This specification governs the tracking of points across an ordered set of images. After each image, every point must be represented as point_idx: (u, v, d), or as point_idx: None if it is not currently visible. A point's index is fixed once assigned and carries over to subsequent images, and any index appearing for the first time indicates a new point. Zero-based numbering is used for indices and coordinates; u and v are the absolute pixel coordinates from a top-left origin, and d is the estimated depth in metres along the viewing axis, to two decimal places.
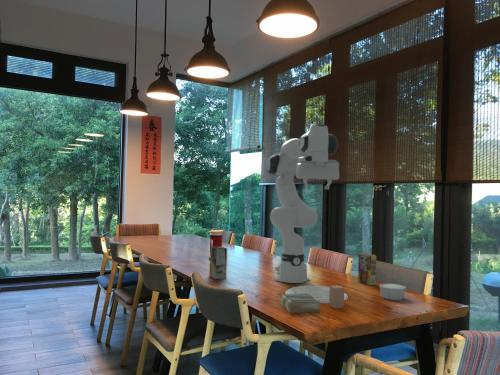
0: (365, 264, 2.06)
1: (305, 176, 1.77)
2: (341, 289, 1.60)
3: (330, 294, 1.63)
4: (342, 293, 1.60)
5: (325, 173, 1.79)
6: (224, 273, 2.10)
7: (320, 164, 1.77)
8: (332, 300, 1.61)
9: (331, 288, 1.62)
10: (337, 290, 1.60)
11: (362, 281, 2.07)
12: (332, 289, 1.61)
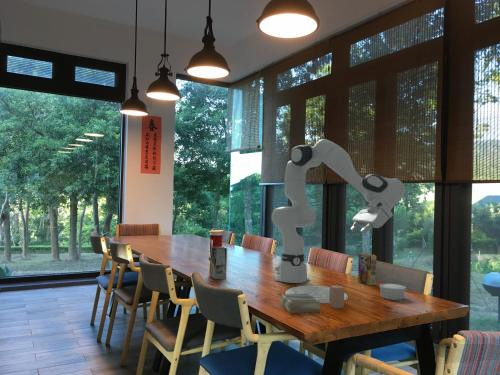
0: (365, 264, 2.06)
1: None
2: (341, 289, 1.60)
3: (330, 294, 1.63)
4: (342, 293, 1.60)
5: None
6: (224, 273, 2.10)
7: None
8: (332, 300, 1.61)
9: (331, 288, 1.62)
10: (337, 290, 1.60)
11: (362, 281, 2.07)
12: (332, 289, 1.61)
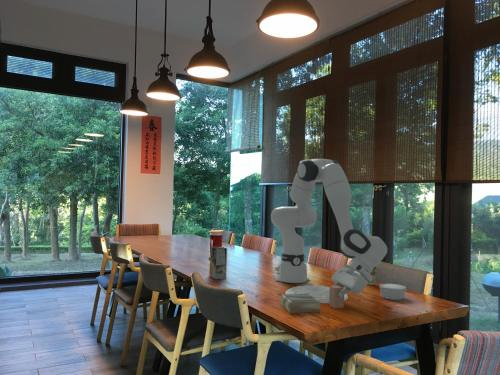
0: None
1: None
2: (341, 289, 1.60)
3: (330, 294, 1.63)
4: None
5: None
6: (224, 273, 2.10)
7: None
8: (332, 300, 1.61)
9: (331, 288, 1.62)
10: (337, 290, 1.60)
11: None
12: (332, 289, 1.61)
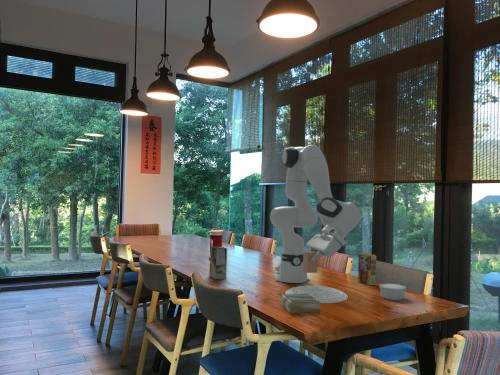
0: (365, 264, 2.06)
1: None
2: (314, 254, 1.58)
3: (303, 260, 1.60)
4: None
5: None
6: (224, 273, 2.10)
7: None
8: (305, 265, 1.59)
9: (304, 253, 1.60)
10: (310, 255, 1.57)
11: (362, 281, 2.07)
12: (305, 254, 1.59)
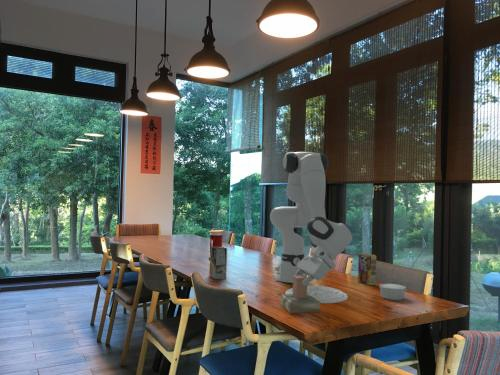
0: (365, 264, 2.06)
1: None
2: (304, 279, 1.57)
3: (293, 285, 1.59)
4: None
5: None
6: (224, 273, 2.10)
7: None
8: (295, 290, 1.58)
9: (294, 278, 1.59)
10: (300, 280, 1.56)
11: (362, 281, 2.07)
12: (295, 279, 1.58)
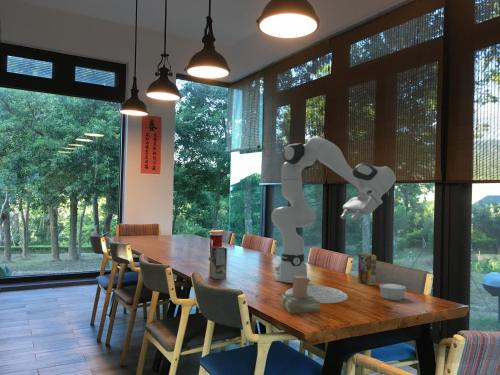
0: (365, 264, 2.06)
1: None
2: (304, 279, 1.57)
3: (293, 285, 1.59)
4: (305, 283, 1.57)
5: None
6: (224, 273, 2.10)
7: None
8: (295, 290, 1.58)
9: (294, 278, 1.59)
10: (300, 280, 1.56)
11: (362, 281, 2.07)
12: (295, 279, 1.58)
